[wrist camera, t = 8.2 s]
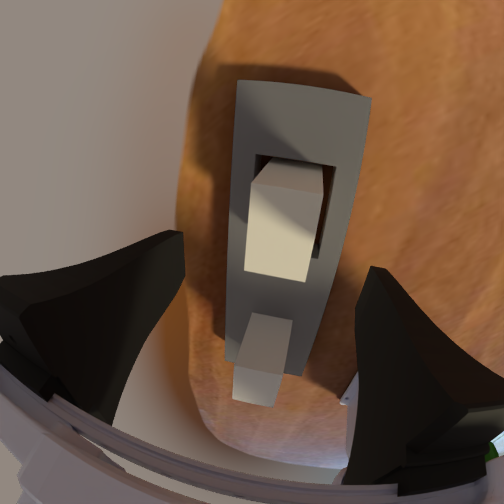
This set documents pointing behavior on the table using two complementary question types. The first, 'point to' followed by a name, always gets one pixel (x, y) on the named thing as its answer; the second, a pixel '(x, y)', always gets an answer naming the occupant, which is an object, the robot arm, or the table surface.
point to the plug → (283, 218)
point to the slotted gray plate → (323, 254)
